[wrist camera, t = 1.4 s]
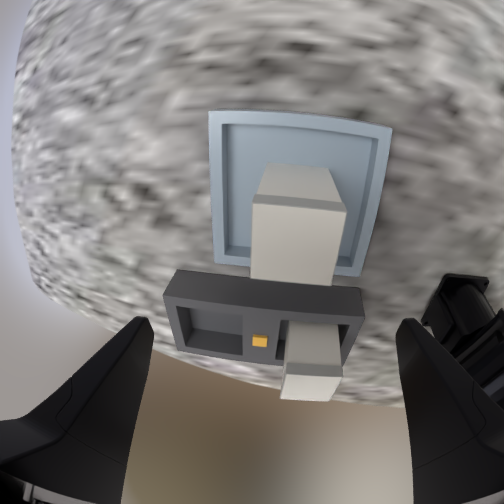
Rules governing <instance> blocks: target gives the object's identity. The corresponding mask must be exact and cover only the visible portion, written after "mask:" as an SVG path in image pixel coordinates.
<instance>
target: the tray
mask: <svg viewBox="0 0 504 504" xmlns="http://www.w3.org/2000/svg"><path fill="white" fill-rule="evenodd" d="M391 135H392V128H389V127H387V126H385V125H382V124H378V123H373V122H367V121H362V120H356V119H350V118H344V117H337V116H330V115H323V114H314V113H305V112H294V111H281V110H263V109H215V110H211V111H209V162H210V190H211V212H212V231H213V248H214V263H219V264H229V265H239V266H248V267H250V251H251V208H252V200H253V197H254V195H255V194H256V193H257V190H258V187H259V185H260V182H261V179H262V176H263V173H264V170H265V168H266V165H267V162H271V163H283V164H295V165H305V166H314V167H323V168H328V169H329V171H330V174H331V176H332V178H333V181H334V183H335V186H336V188H337V191H338V193H339V196H340V198H341V201H342V203H344V204H345V207H346V209H347V217H346V222H345V227H344V232H343V237H342V241H341V246H340V250H339V255H338V259H337V263H336V268H335V272H334V275H343V276H354V277H360V274H361V270H362V267H363V264H364V260H365V257H366V253H367V250H368V246H369V242H370V239H371V235H372V231H373V227H374V223H375V219H376V215H377V210H378V206H379V202H380V197H381V192H382V188H383V183H384V177H385V172H386V167H387V161H388V155H389V149H390V142H391Z"/></svg>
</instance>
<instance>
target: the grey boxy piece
mask: <svg viewBox="0 0 504 504" xmlns="http://www.w3.org/2000/svg"><path fill="white" fill-rule="evenodd" d="M163 299H164V303H165V307H166V311H167V314H168V318H169V322H170V325H171V329H172V333H173V336H174V340H175V343H176V346H177V350H178V351H183V352H188V353H193V354H199V355H204V356H210V357H216V358H222V359H229V360H236V361H243V362H251V363H259V364H268V365H278V366H284V367H283V378H282V386H281V393H280V399H291V400H306V401H330V399H331V397H332V396H333V394H334V392H335V391H336V389H337V387H338V385H339V383H340V382H341V380H342V378H343V369H342V367H343V365H344V363H345V361H346V359H347V357H348V354H349V352H350V350H351V348H352V346H353V344H354V342H355V339H356V337H357V335H358V333H359V330H360V328H361V326H362V323H363V321H364V319H365V313H364V309H363V304H362V300H361V296H360V291H359V288H353V287H340V286H322V285H310V284H300V283H289V282H279V281H269V280H259V279H250V278H245V277H236V276H227V275H218V274H209V273H201V272H193V271H184V270H177V271H176V272H175V274H174V276H173V278H172V279H171V281H170V283H169V285H168V286H167V288H166V290H165V292H164V293H163Z"/></svg>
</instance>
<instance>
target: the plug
mask: <svg viewBox="0 0 504 504" xmlns="http://www.w3.org/2000/svg"><path fill="white" fill-rule="evenodd" d="M346 217H347V209H346V207H345V204H344V203H342V201H341V198H340V196H339V193H338V191H337V188H336V186H335V183H334V181H333V178H332V176H331V174H330V171H329V169H328V168H323V167H314V166H305V165H295V164H283V163H271V162H267V165H266V168H265V170H264V173H263V176H262V179H261V182H260V185H259V187H258V190H257V193H256V194H255V195H254V197H253V200H252V208H251V251H250V279H259V280H269V281H279V282H289V283H300V284H310V285H322V286H331V284H332V280H333V276H334V272H335V268H336V263H337V259H338V255H339V250H340V246H341V241H342V237H343V232H344V227H345V222H346Z"/></svg>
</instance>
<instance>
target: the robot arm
mask: <svg viewBox="0 0 504 504" xmlns="http://www.w3.org/2000/svg"><path fill="white" fill-rule="evenodd" d="M488 284H489V280H488V279H487V278H486V277H475V276H463V275H452V274H447V275H445V276H444V278H443V279H442V282H441V284H440V286H439V288H438V290H437V292H436V294H435V296H434V298H433V300H432V302H431V304H430V306H429V307H428V309H427V311H426V313H425V315H424V317H423V318H422V320H421V323H422V325H421V324H420V323H419V322H418V321H417V320H416V319H415V318H405V319H403V320H402V322H401V324H400V326H399V328H398V330H397V332H396V346H397V355H398V365H399V374H400V380H401V385H402V391H403V396H404V402H405V408H406V415H407V422H408V429H409V437H410V446H411V457H412V469H413V471H412V472H413V496H414V504H504V309H503V308H501V309H500V310H499V311H498V314H497V315H496V314H495V313H494V311H493V309H492V307H491V306H490V304H489V302H488V301H487V299H486V297H485V296H484V292H485V290H486V288H487V286H488ZM423 326H431V329H432V332H433V334H434V337H435V338H434V337H433V336H432V335H431V334H430V333H429V332H428V331H427V330H426V329H425V328H424V327H423ZM153 340H154V331H153V329H152V327H151V325H150V322H149V320H148V318H146V317H141V316H136V317H135V318H133V319H132V320H131V321H130V322H129V323H128V324H127V325H126V326H125V327H124V328H122V329H121V330H120V331H119V332H118V333H117V334H116V335H115V336H114V337H113V338H112V339H110V340H109V341H108V342H107V343H106V344H105V345H104V346H103V347H102V348H101V349H100V350H99V351H98V352H97V353H95V354H94V355H93V357H91V358H90V359H89V360H88V361H87V362H86V363H85V364H84V365H83V366H82V367H81V368H80V369H79V370H78V371H77V372H75V373H74V374H73V375H72V377H70V378H69V379H68V380H67V381H66V382H65V383H64V384H63V385H62V386H61V387H60V388H58V389H57V390H56V391H55V392H54V393H53V394H52V395H50V396H49V397H48V398H47V399H46V400H44V401H43V402H42V403H41V404H39V405H38V406H37V407H36V408H35V409H33V410H32V411H31V412H30V413H28V414H27V415H25V416H23V417H21V418H18V419H11V420H3V421H0V504H121V497H122V491H123V485H124V479H125V473H126V468H127V462H128V457H129V452H130V447H131V442H132V438H133V433H134V429H135V424H136V420H137V415H138V411H139V407H140V403H141V399H142V395H143V391H144V387H145V383H146V380H147V375H148V371H149V365H150V359H151V352H152V346H153Z"/></svg>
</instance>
